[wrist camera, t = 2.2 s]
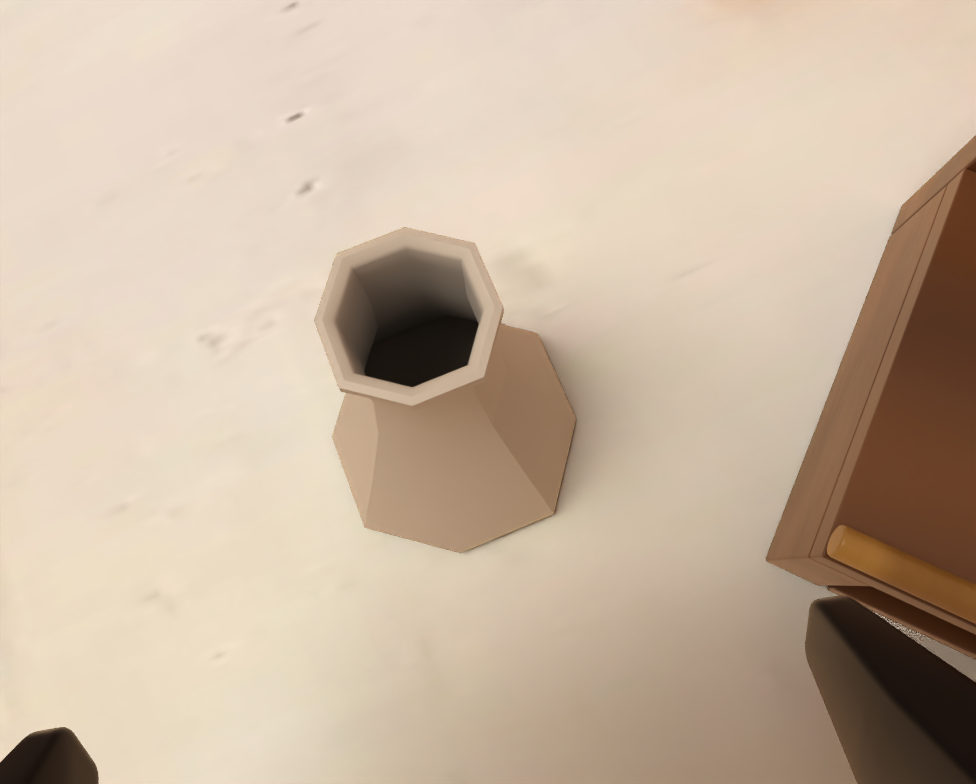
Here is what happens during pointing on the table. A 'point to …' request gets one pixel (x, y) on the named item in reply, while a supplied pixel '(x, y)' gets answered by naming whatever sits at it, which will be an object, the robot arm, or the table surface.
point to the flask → (439, 394)
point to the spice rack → (902, 431)
